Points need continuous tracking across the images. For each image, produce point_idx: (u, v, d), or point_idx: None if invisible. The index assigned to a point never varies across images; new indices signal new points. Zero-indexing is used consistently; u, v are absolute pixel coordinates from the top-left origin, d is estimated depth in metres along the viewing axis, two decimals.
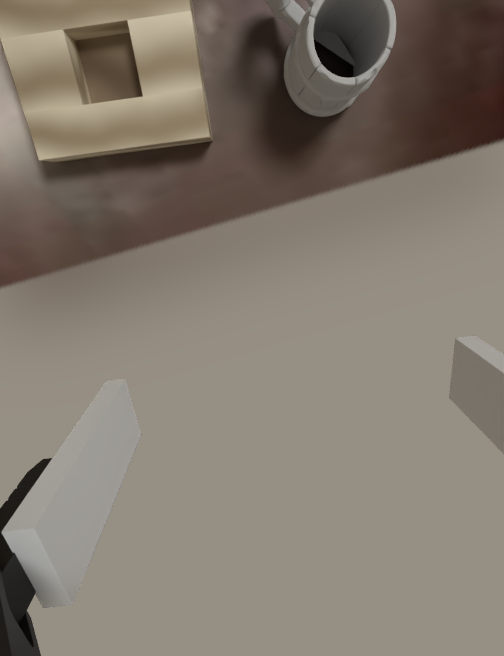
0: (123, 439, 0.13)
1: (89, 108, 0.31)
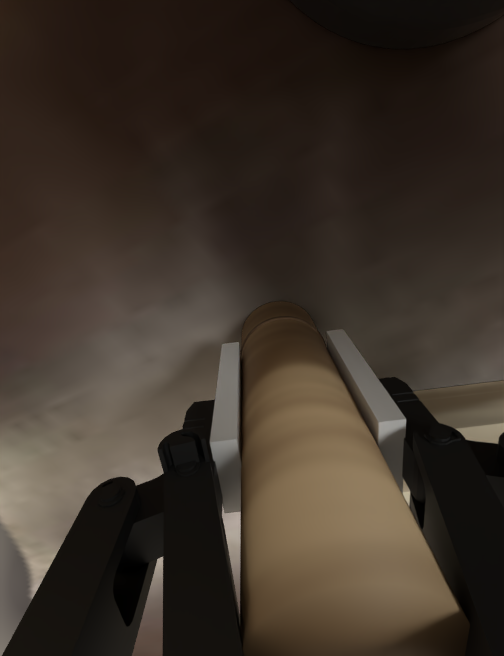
0: None
1: None
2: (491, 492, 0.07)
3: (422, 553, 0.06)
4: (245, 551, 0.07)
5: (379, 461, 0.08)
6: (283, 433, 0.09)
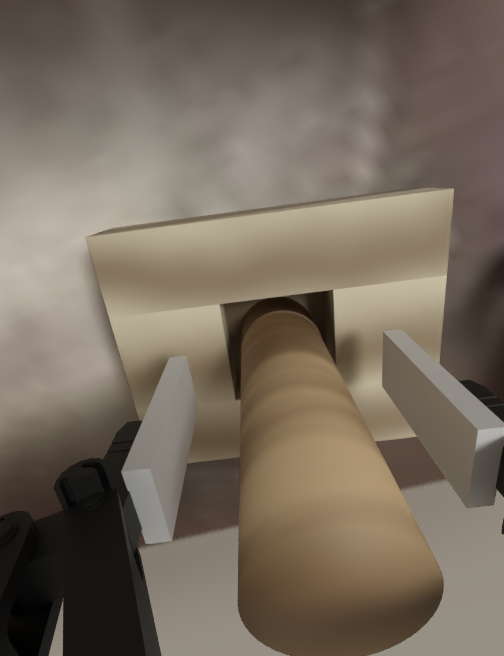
0: (189, 409, 0.14)
1: None
2: None
3: (399, 507, 0.07)
4: (243, 511, 0.08)
5: (365, 435, 0.09)
6: (278, 410, 0.10)
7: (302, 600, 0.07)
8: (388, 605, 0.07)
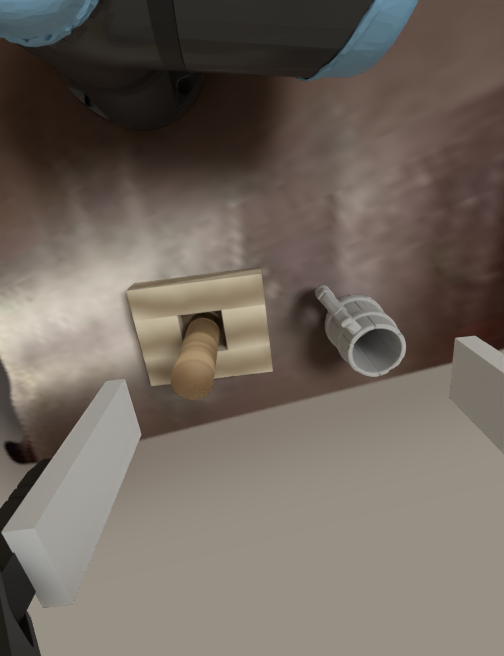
0: (123, 439, 0.13)
1: None
2: None
3: (205, 362, 0.33)
4: (174, 367, 0.34)
5: (208, 352, 0.35)
6: (186, 346, 0.36)
7: (184, 381, 0.33)
8: (202, 382, 0.33)
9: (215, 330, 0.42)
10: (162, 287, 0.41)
